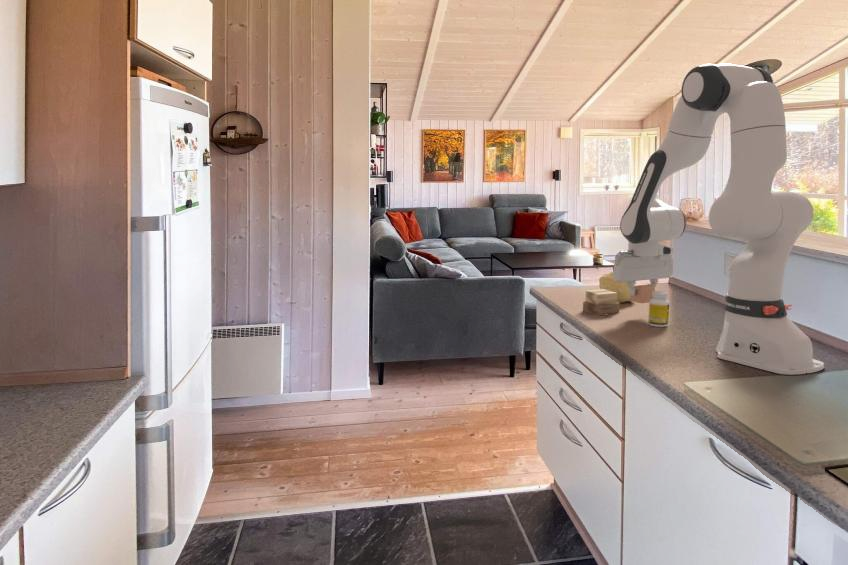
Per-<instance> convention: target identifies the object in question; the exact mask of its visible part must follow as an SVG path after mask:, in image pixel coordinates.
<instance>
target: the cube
mask: <svg viewBox="0 0 848 565" xmlns="http://www.w3.org/2000/svg"><path fill="white" fill-rule="evenodd" d="M634 287H635V289H637V290H638V292H637V293H638V295H634V296H632V295H630V301H629V302H634V303H638V304H646V303H647V304H648V303H649V302H650V300H651V299H653V297H652V295H653V292H654V291H656V290H655V288H656V287H655V286H654V285H650V284H648V283H636V284H634Z"/></svg>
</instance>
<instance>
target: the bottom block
mask: <svg viewBox="0 0 848 565" xmlns="http://www.w3.org/2000/svg"><path fill="white" fill-rule="evenodd" d="M620 306H621V303H618V302H617V304H607V305H595V304H592V303H590V302H587V301H583V302H582V312H584V313H588V314H593V315H597V314H599V315H598V316H601V315H604V316H607V315H606V314H609V315H614V314H617V313H618V314H619V313H620ZM613 313H614V314H613Z"/></svg>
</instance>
